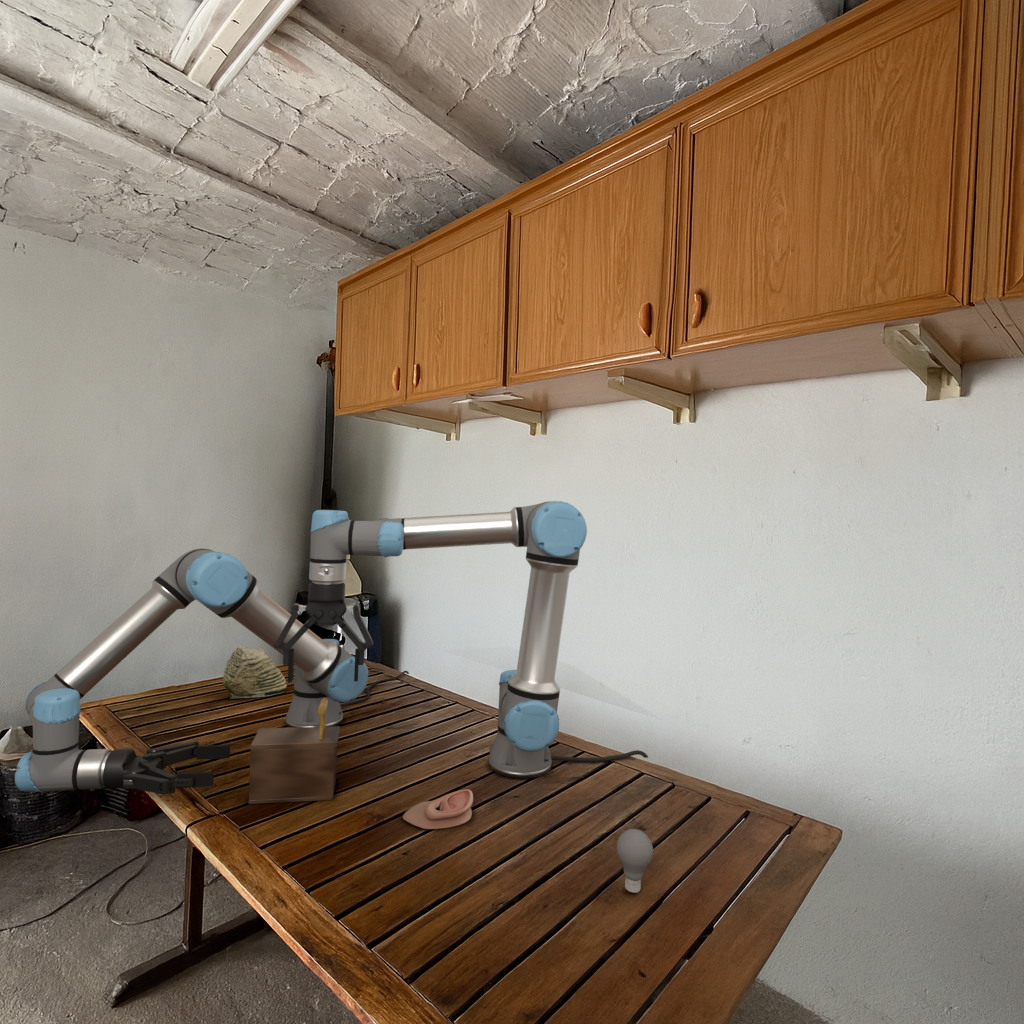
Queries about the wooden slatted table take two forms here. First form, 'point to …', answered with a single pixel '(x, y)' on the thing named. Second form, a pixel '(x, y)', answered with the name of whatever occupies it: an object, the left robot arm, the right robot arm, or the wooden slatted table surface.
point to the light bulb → (634, 857)
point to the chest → (292, 774)
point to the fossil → (252, 674)
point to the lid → (298, 735)
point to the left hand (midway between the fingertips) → (221, 764)
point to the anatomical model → (442, 811)
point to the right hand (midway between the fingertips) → (323, 680)
